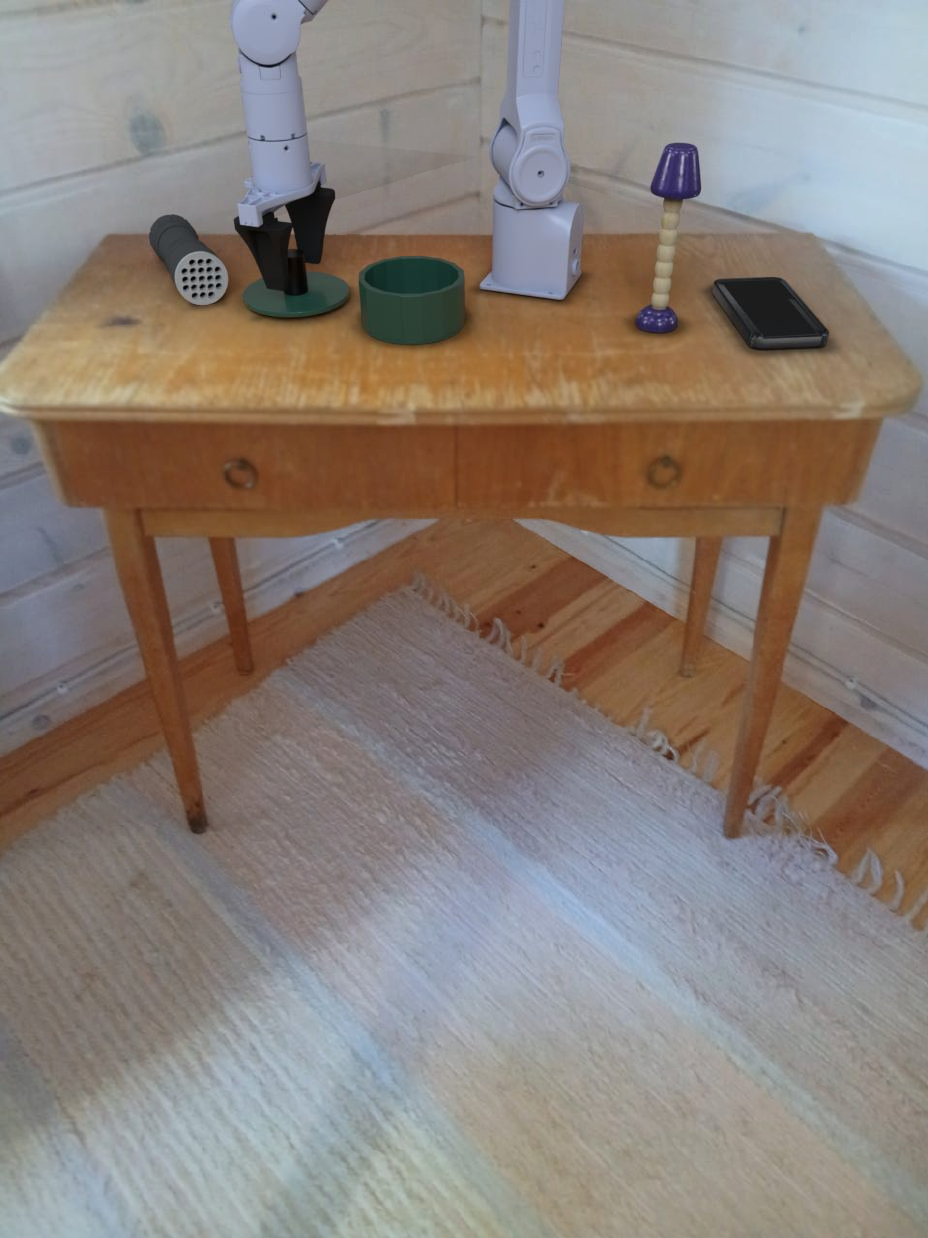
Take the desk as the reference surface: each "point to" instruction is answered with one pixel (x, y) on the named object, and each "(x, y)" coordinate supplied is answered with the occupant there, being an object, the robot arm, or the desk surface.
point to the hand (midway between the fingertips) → (294, 275)
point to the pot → (412, 299)
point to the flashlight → (188, 260)
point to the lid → (297, 292)
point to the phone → (769, 313)
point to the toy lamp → (669, 228)
